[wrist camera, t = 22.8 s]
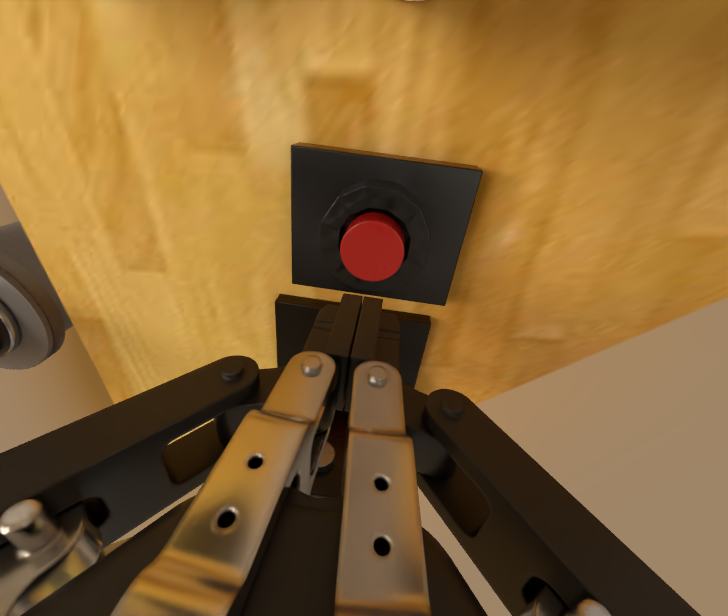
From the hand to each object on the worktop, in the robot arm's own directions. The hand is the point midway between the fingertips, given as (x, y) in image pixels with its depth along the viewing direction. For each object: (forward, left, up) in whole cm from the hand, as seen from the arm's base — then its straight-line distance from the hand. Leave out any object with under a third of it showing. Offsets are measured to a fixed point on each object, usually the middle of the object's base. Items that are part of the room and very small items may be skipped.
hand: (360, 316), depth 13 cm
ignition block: (0, 0, -11) cm, 11 cm away
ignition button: (0, 0, -8) cm, 8 cm away
